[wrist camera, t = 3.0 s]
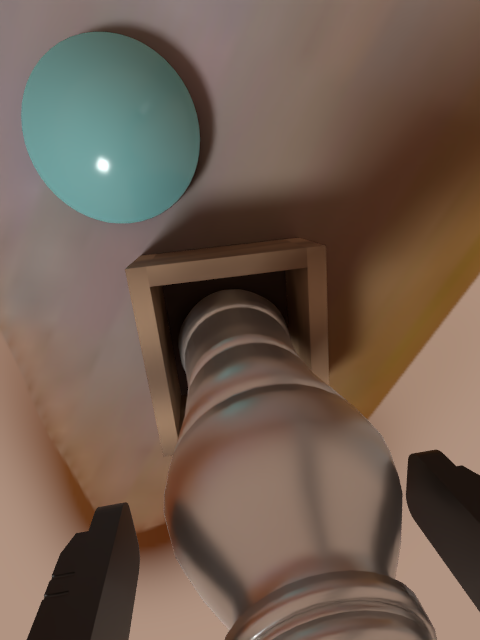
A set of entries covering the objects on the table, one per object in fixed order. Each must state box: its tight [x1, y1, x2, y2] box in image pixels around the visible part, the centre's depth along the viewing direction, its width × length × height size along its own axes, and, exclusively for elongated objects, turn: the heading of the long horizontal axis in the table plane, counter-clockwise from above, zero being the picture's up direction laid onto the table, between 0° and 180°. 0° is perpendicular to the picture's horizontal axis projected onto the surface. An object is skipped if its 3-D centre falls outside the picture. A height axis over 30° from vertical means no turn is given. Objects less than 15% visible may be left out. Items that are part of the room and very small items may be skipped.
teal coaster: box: [21, 32, 200, 223], centre depth 19 cm, size 9×9×1 cm
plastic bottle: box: [164, 289, 437, 640], centre depth 14 cm, size 6×7×20 cm
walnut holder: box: [125, 238, 329, 457], centre depth 21 cm, size 11×10×5 cm
